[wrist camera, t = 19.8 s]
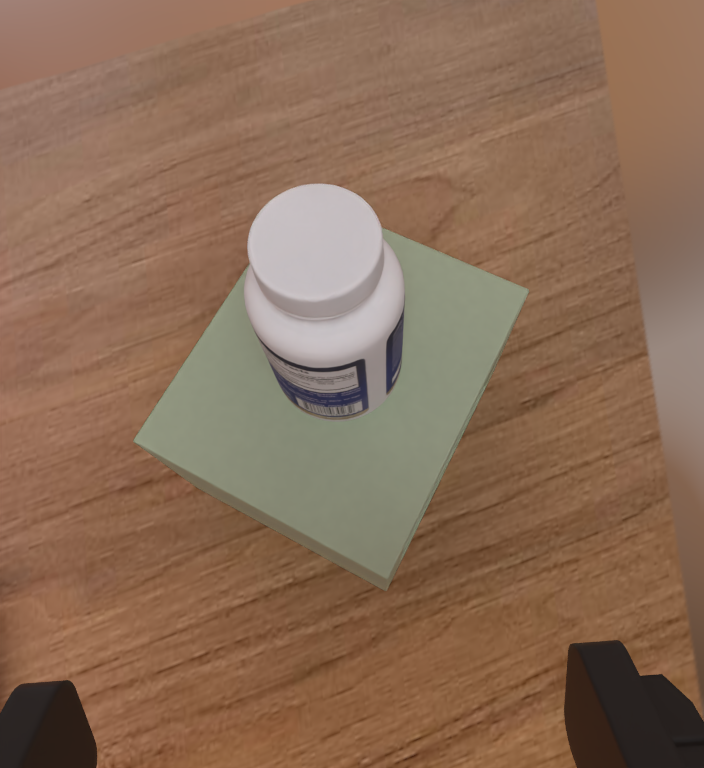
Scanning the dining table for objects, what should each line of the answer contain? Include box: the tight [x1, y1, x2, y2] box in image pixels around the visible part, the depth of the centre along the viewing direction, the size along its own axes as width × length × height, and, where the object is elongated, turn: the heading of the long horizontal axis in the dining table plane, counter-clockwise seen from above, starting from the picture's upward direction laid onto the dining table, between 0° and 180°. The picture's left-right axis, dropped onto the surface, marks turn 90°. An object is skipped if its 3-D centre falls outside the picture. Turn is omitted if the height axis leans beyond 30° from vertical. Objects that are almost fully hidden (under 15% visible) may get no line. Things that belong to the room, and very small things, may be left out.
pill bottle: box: [244, 184, 405, 422], centre depth 23 cm, size 5×5×10 cm
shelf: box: [133, 227, 529, 591], centre depth 32 cm, size 12×14×10 cm
